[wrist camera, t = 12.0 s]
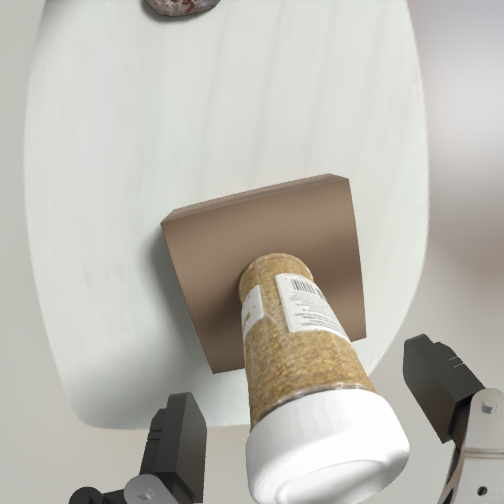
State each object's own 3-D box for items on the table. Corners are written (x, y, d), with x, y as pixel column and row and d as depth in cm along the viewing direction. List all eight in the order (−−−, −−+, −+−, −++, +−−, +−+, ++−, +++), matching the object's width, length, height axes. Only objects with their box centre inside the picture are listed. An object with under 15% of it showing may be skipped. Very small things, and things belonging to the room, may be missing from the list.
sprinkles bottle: (223, 281, 19) (210, 491, 6) (285, 234, 18) (382, 410, 5) (268, 331, 20) (305, 529, 7) (327, 291, 19) (430, 469, 7)
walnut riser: (173, 209, 21) (160, 222, 18) (329, 173, 21) (348, 178, 17) (215, 342, 25) (213, 373, 21) (349, 311, 25) (366, 337, 21)
